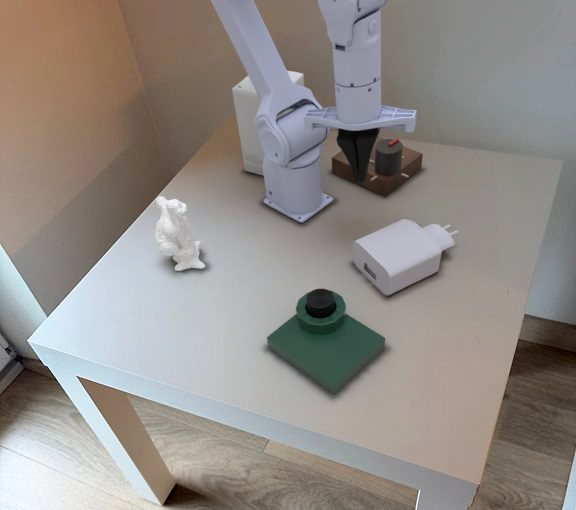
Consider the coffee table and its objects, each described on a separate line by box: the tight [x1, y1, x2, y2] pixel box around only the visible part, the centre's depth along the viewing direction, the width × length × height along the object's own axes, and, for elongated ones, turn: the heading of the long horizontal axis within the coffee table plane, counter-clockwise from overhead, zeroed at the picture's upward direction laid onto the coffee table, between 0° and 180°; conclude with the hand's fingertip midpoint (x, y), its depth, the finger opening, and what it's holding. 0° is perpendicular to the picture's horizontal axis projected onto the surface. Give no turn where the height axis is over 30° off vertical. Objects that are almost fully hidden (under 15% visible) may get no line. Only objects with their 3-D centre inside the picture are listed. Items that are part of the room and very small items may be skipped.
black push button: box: [306, 287, 334, 319], centre depth 71 cm, size 4×4×2 cm
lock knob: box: [375, 137, 404, 176], centre depth 89 cm, size 4×4×4 cm
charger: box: [352, 218, 459, 296], centre depth 79 cm, size 5×9×15 cm
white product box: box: [231, 70, 305, 177], centre depth 94 cm, size 9×9×15 cm
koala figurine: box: [154, 195, 206, 272], centre depth 81 cm, size 8×7×12 cm
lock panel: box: [331, 135, 424, 198], centre depth 93 cm, size 14×11×3 cm
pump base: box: [266, 289, 386, 395], centre depth 71 cm, size 12×11×4 cm
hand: (361, 178), depth 77 cm, fingers closed
